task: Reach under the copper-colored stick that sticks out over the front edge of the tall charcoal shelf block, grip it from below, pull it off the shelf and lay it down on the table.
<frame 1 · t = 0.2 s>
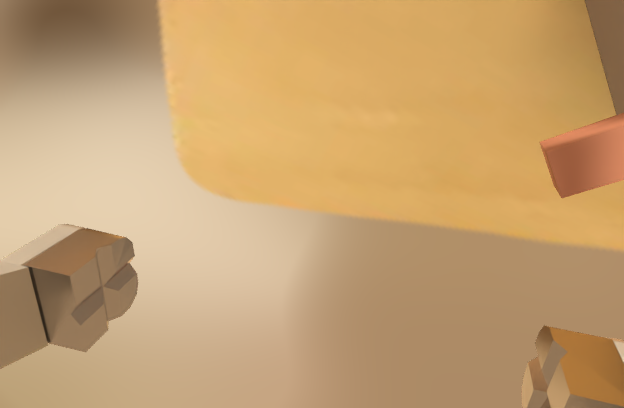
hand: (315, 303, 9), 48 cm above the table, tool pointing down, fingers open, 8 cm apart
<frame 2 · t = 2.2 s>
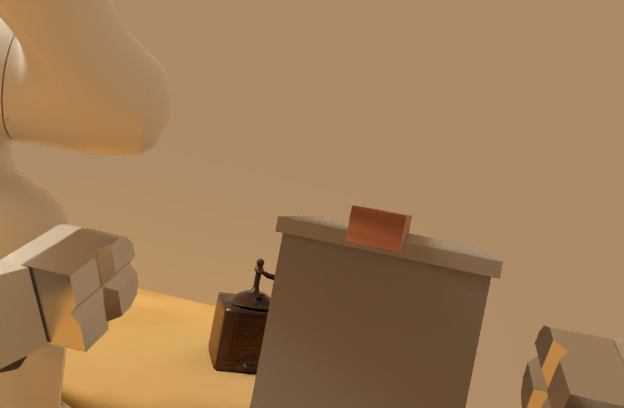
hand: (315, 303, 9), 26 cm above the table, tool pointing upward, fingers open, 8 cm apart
copper-colored stick: (387, 235, 38), point 26 cm above the table, touching shelf block
manual coffee grinder: (257, 362, 75), on the table
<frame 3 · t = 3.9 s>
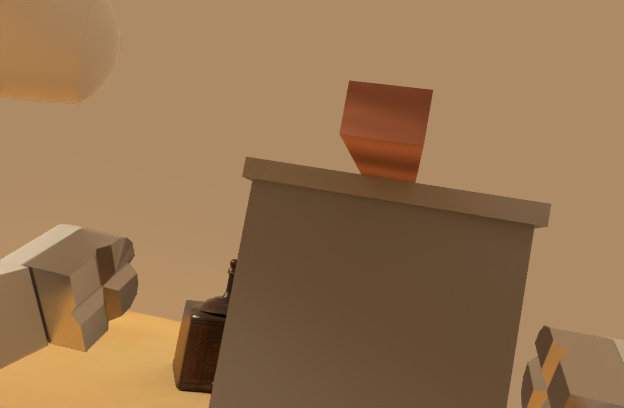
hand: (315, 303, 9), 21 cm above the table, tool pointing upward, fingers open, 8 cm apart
copper-colored stick: (389, 186, 29), point 26 cm above the table, touching shelf block
manual coffee grinder: (230, 381, 63), on the table
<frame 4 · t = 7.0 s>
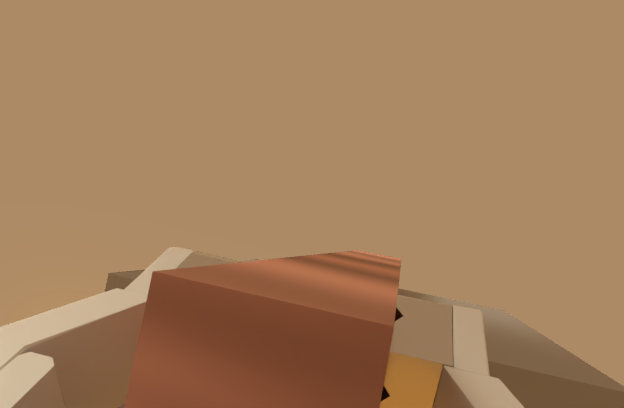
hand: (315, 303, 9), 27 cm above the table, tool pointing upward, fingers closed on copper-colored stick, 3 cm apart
copper-colored stick: (353, 311, 18), point 26 cm above the table, touching gripper, shelf block
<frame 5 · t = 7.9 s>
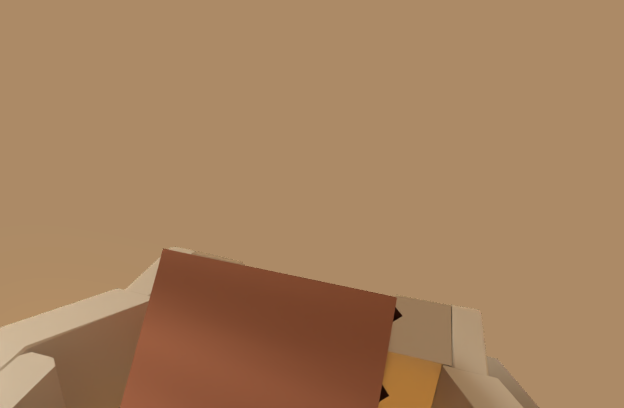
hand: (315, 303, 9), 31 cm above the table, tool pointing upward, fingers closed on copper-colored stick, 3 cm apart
copper-colored stick: (344, 347, 18), point 28 cm above the table, tilted 7°, touching gripper
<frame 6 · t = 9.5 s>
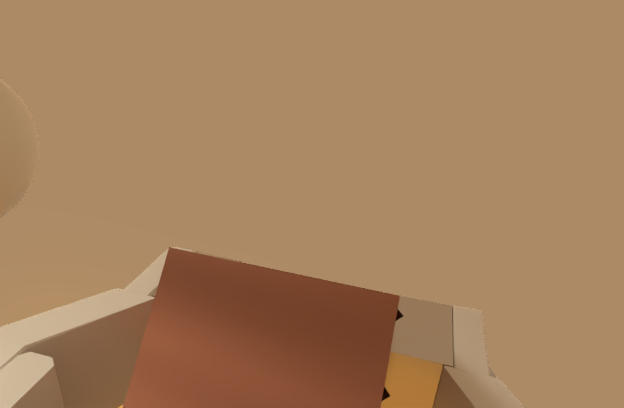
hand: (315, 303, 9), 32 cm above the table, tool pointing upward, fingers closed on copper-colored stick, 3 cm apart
copper-colored stick: (343, 358, 18), point 28 cm above the table, tilted 10°, touching gripper
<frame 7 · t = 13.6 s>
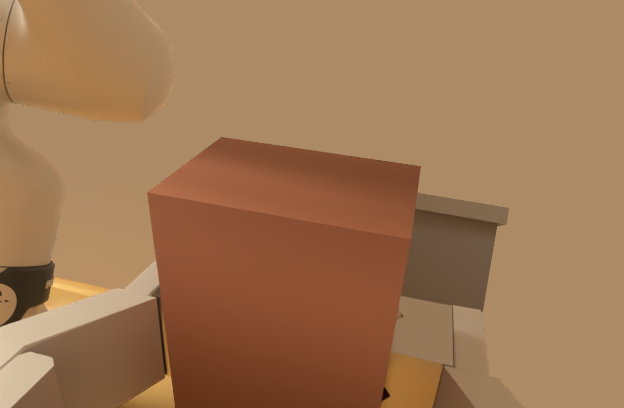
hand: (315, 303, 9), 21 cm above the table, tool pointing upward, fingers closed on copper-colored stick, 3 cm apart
when the fingers open (14 cm above the table, at t = 15.3 s): copper-colored stick drops 10 cm, on the table.
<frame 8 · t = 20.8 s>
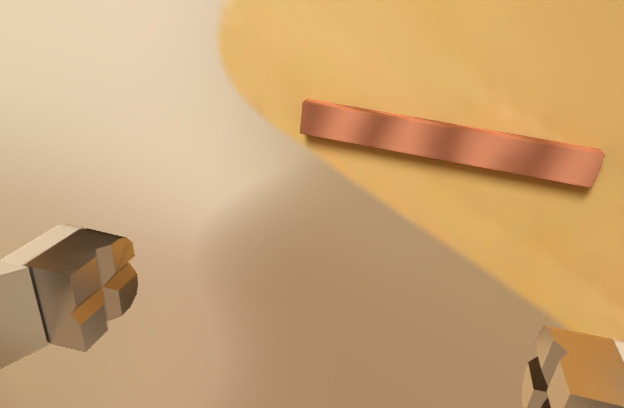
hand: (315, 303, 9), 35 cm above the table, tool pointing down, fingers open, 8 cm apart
copper-colored stick: (441, 136, 42), on the table
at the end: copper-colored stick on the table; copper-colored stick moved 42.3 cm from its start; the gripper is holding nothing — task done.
